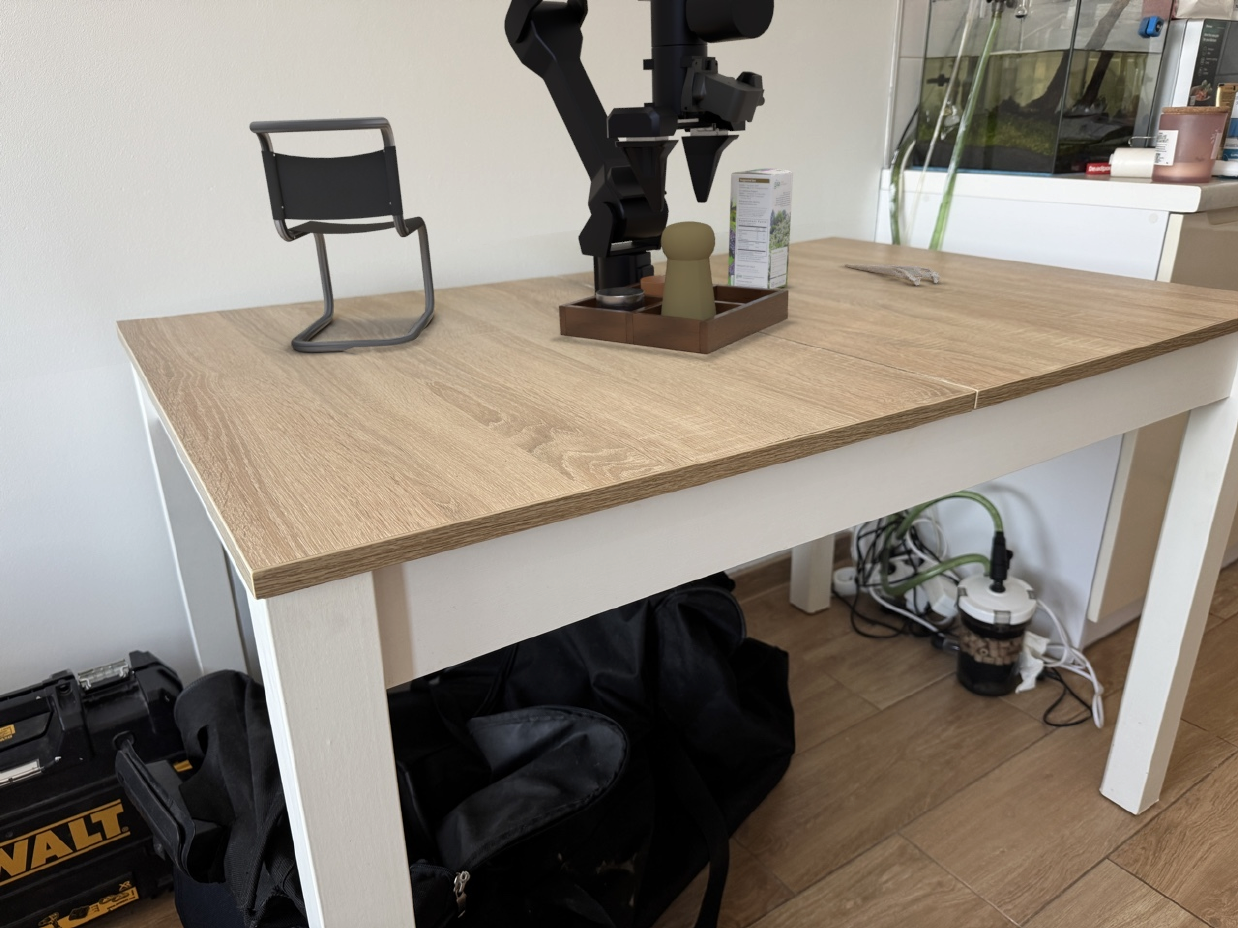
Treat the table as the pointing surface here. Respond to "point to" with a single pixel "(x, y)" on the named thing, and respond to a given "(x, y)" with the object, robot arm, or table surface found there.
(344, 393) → the table surface
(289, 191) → the chair
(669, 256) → the olive peg figure
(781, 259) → the syrup box
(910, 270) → the grey long forked piece
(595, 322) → the tray
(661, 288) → the tin
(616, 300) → the tin
